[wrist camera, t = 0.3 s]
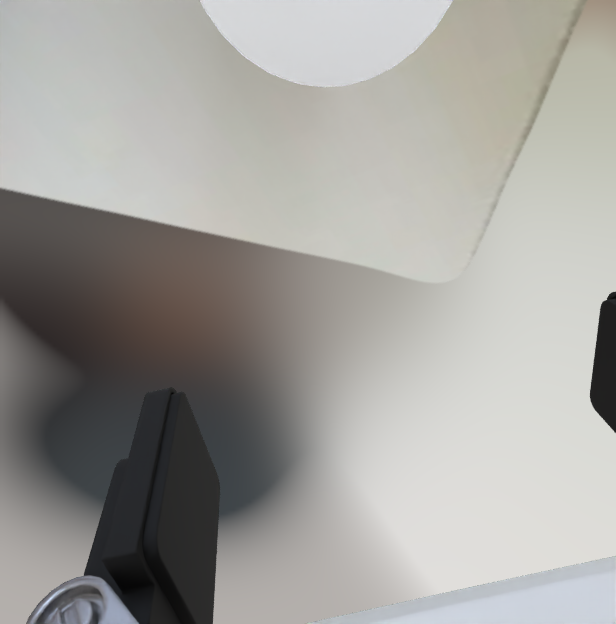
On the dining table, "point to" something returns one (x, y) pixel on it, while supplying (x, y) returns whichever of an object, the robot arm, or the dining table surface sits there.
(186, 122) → the dining table surface
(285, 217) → the dining table surface
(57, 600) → the robot arm
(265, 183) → the dining table surface
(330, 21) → the cylindrical container
